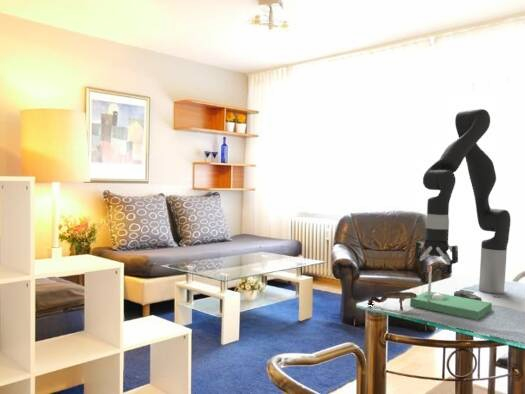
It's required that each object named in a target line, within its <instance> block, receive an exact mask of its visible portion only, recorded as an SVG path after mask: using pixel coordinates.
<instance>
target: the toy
mask: <svg viewBox="0 0 525 394" xmlns="http://www.w3.org/2000/svg"><path fill="white" fill-rule="evenodd" d="M411 298H417V294H416V293H415V292H412V291H411V292H410V291H404V292H403V291H397V290H396V291H389V292H385V293H384V294H383V293H382V294H380V298H378V297H377V296H372V297H371V298H370V299H368V301H367V302H368V303H367V304H368V305H373V304H372V303H374V304H375V303H384V302H386V301H387V300H388V299H397V300H398V303H399V307H400V308H399V309H400V311H404V307H403V301H405V300H408V299H409V300H410V299H411ZM368 305H367V306H368Z"/></svg>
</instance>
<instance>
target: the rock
mask: <svg viewBox="0 0 525 394" xmlns="http://www.w3.org/2000/svg"><path fill="white" fill-rule="evenodd" d="M453 296H457V297H463V298H468V299H474V300H479V301H483V300H482V298H481V296H478V295H477V294H473V293H471V292H469V291H466V290H463V289H460V290H456V291H454V293H453Z"/></svg>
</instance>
